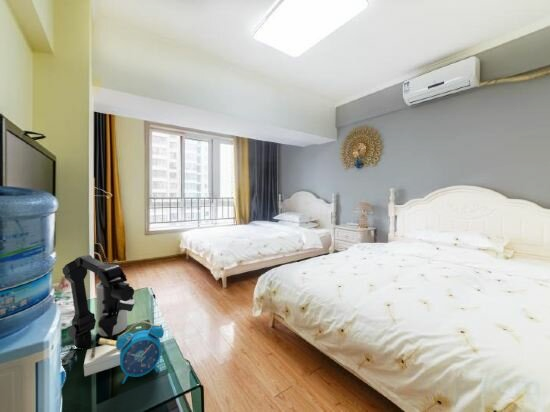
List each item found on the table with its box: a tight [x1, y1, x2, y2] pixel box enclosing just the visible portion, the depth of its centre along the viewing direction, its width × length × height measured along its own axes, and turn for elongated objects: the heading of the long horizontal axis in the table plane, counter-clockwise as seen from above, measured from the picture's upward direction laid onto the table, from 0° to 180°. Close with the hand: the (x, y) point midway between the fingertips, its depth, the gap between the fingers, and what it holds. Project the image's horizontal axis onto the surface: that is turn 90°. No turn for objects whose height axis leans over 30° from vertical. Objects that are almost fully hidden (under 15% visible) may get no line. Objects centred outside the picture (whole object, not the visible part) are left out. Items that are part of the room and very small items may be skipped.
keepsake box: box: [83, 344, 121, 377], centre depth 102 cm, size 15×10×7 cm
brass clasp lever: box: [97, 337, 117, 347], centre depth 103 cm, size 10×3×1 cm, turn 124°
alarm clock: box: [116, 321, 165, 385], centre depth 96 cm, size 17×10×20 cm, turn 120°
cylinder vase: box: [95, 278, 128, 337], centre depth 125 cm, size 12×12×25 cm
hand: (112, 330), depth 103 cm, fingers open, 9 cm apart
